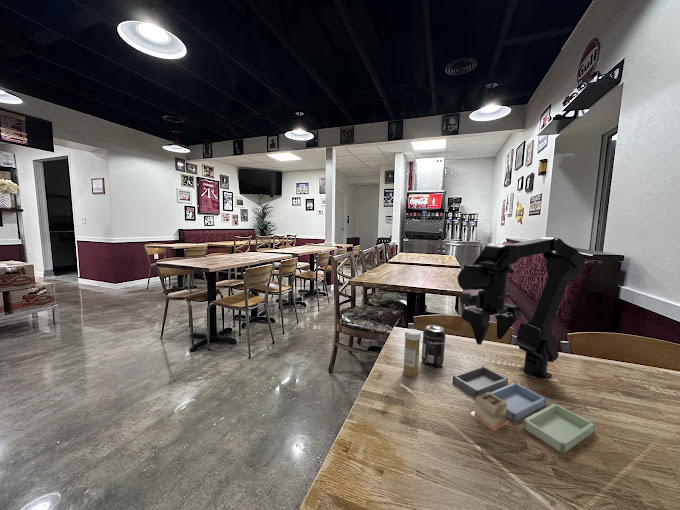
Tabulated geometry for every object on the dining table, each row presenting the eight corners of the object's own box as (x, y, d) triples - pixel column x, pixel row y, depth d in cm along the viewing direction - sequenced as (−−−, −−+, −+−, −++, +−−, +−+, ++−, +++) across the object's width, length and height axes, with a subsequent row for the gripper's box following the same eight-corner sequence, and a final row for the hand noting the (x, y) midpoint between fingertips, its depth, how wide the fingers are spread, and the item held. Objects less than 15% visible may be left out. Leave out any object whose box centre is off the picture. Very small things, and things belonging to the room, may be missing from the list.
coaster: (485, 408, 67) (485, 406, 67) (509, 424, 62) (510, 422, 62) (469, 415, 64) (469, 413, 64) (493, 433, 59) (493, 430, 59)
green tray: (553, 412, 66) (554, 403, 66) (593, 434, 59) (595, 423, 59) (522, 429, 60) (523, 419, 60) (562, 456, 53) (564, 444, 53)
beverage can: (425, 355, 93) (427, 322, 92) (445, 362, 89) (448, 327, 88) (418, 363, 88) (420, 328, 86) (439, 370, 84) (442, 333, 82)
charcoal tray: (482, 373, 83) (483, 365, 83) (507, 387, 76) (508, 378, 76) (452, 384, 77) (453, 375, 77) (476, 399, 70) (477, 390, 70)
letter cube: (486, 408, 66) (488, 391, 65) (505, 421, 62) (507, 402, 61) (474, 414, 64) (476, 396, 63) (492, 427, 60) (494, 408, 59)
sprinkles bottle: (421, 375, 81) (424, 332, 80) (411, 379, 79) (413, 335, 77) (409, 368, 85) (412, 327, 83) (399, 372, 82) (401, 330, 81)
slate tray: (514, 390, 75) (515, 382, 74) (545, 407, 68) (546, 398, 68) (483, 404, 69) (484, 394, 68) (513, 424, 62) (514, 414, 62)
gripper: (488, 280, 87) (484, 326, 89) (447, 285, 79) (444, 336, 81) (525, 288, 78) (519, 340, 79) (482, 294, 69) (477, 352, 71)
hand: (489, 341), depth 78 cm, fingers open, 9 cm apart
